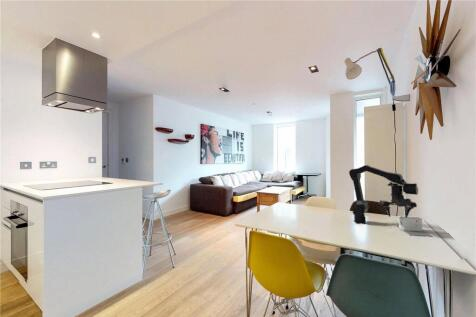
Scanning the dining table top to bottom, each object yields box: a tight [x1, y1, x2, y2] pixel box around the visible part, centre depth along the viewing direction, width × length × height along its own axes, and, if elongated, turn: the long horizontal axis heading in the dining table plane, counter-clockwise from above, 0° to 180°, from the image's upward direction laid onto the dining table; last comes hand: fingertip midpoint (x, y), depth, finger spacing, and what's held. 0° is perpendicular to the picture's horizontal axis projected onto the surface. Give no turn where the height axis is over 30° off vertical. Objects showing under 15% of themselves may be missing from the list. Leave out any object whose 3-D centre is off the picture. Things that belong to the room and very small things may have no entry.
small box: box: [398, 215, 423, 231], centre depth 132 cm, size 8×6×10 cm
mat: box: [395, 224, 433, 238], centre depth 131 cm, size 11×18×1 cm, turn 164°
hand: (397, 217), depth 133 cm, fingers open, 9 cm apart
